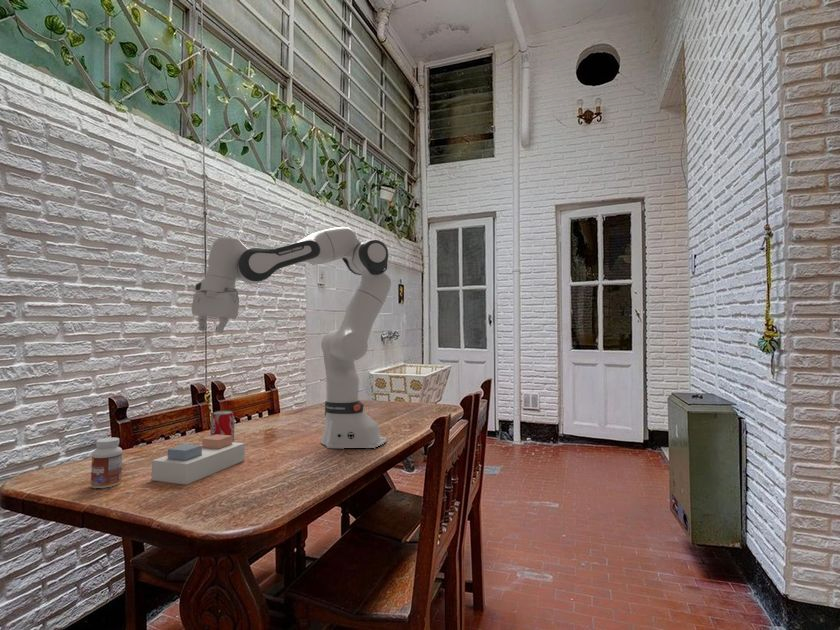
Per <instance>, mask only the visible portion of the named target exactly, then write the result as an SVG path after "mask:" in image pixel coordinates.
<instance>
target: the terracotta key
mask: <svg viewBox="0 0 840 630" xmlns="http://www.w3.org/2000/svg"><path fill="white" fill-rule="evenodd" d="M201 444H202V448H209V449H221V448H224V447H227V446H230V445H232V436H230V435H217V434H216V435H213V436H210V435H209V436H207V437H203V438H202V439H201Z"/></svg>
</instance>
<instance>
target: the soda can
mask: <svg viewBox="0 0 840 630" xmlns="http://www.w3.org/2000/svg"><path fill="white" fill-rule="evenodd" d="M233 413H234V412H233V411H232V410H217V411H215V412H213V414H212V416H211V418H210V432H209V434H210V435H209V436H213V435H216V434H217V435H230V436H232V442H235V416H234V414H233Z"/></svg>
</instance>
